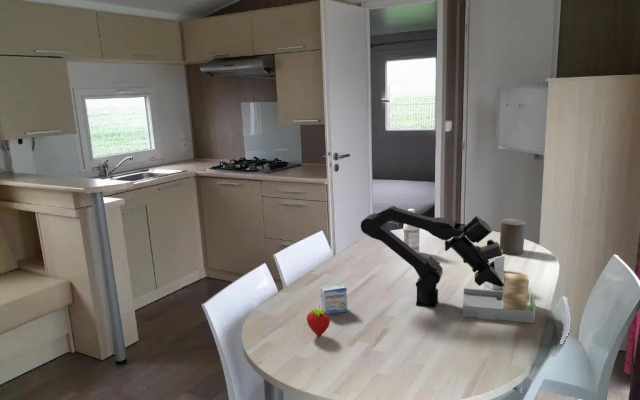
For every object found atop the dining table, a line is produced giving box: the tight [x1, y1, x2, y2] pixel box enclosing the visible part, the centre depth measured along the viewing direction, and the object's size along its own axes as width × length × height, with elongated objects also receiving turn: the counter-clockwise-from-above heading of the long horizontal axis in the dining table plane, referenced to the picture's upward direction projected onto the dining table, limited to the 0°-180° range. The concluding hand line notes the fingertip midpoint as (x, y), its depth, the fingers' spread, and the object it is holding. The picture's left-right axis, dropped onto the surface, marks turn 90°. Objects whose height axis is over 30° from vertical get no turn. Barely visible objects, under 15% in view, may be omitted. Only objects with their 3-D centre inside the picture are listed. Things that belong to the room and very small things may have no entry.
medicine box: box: [320, 283, 348, 316], centre depth 159 cm, size 8×4×9 cm, turn 105°
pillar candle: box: [499, 218, 526, 256], centre depth 207 cm, size 10×10×15 cm
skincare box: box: [482, 254, 506, 290], centre depth 173 cm, size 6×4×12 cm
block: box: [502, 272, 530, 311], centre depth 153 cm, size 7×5×10 cm
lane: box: [462, 286, 537, 324], centre depth 155 cm, size 21×14×6 cm, turn 73°
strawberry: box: [306, 305, 331, 337], centre depth 143 cm, size 6×8×10 cm
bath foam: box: [402, 208, 420, 255], centre depth 210 cm, size 7×7×20 cm
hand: (502, 285), depth 153 cm, fingers closed
